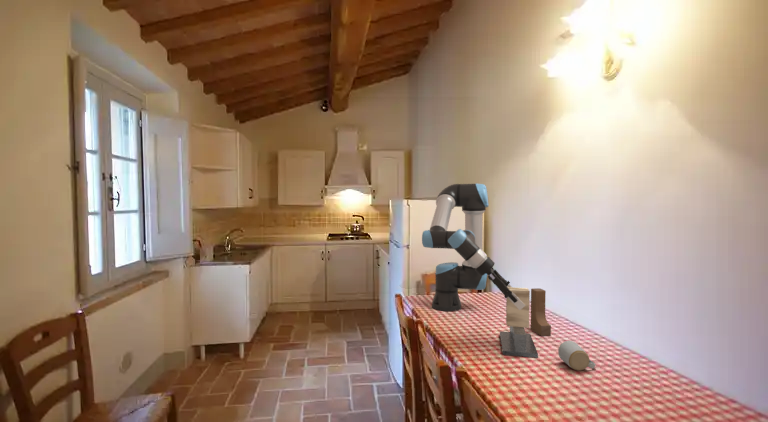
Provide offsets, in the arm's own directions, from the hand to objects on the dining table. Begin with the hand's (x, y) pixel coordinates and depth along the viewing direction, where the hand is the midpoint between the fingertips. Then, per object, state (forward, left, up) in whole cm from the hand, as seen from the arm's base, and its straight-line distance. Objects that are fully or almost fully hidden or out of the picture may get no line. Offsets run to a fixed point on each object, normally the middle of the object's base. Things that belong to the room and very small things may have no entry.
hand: (520, 303), depth 151 cm
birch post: (0, -1, -9) cm, 9 cm away
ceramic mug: (+15, +17, -17) cm, 28 cm away
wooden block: (-18, +10, -17) cm, 27 cm away
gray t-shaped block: (0, -1, -17) cm, 17 cm away
